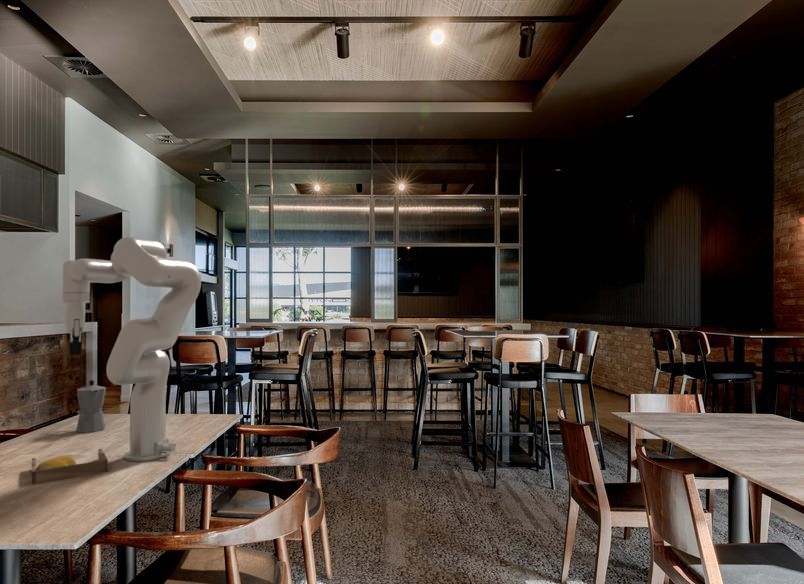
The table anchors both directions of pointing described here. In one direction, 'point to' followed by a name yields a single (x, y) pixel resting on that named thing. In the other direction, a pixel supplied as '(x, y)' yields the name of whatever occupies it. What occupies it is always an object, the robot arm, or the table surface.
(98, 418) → the coffeepot
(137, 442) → the robot arm
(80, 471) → the walnut open-ended frame
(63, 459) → the bread roll
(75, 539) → the table surface
